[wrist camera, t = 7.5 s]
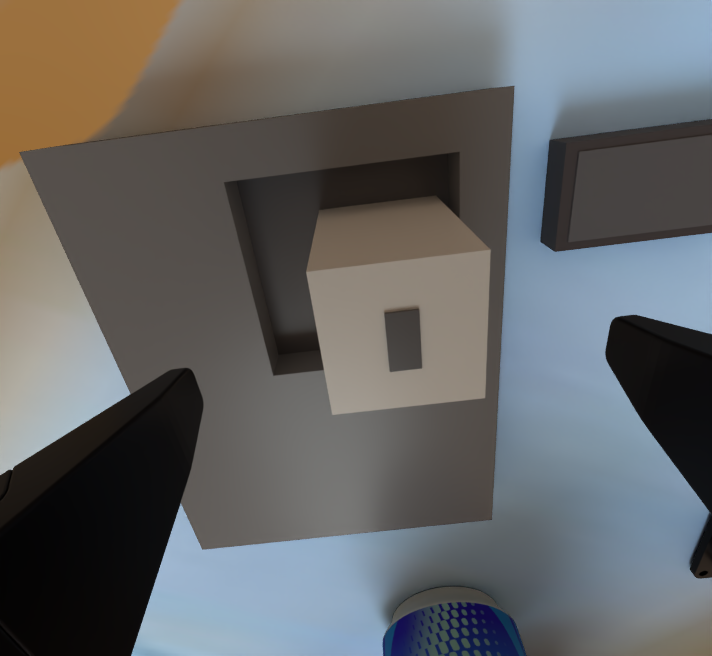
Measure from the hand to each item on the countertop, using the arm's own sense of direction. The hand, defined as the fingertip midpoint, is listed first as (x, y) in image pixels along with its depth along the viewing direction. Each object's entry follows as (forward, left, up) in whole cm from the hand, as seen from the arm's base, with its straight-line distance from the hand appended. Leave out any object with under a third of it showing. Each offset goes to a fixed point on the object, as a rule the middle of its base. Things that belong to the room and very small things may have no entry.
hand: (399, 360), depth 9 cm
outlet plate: (-4, +3, -8) cm, 9 cm away
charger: (0, 0, -7) cm, 7 cm away
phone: (+1, -10, -8) cm, 12 cm away
